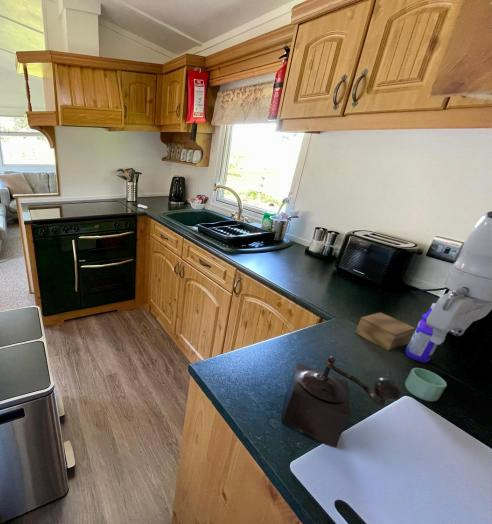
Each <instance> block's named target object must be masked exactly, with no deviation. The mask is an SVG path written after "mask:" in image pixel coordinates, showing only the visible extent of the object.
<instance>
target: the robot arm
mask: <svg viewBox="0 0 492 524" xmlns="http://www.w3.org/2000/svg"><path fill="white" fill-rule="evenodd" d="M443 285H444V287H445V288H447V290H448V292H447V293H444V294H443V295H441V296H440V297H439V298H438V299H437V301H436V302H435V303H436V304H435V306H434V307H433V309H432V311H431V313H430V314H429V316H428V318H427V320H426V324H427V325H428V326H430V327H432V328H433V335H432V337H431V339H430V341H431V342H433V343H435V344H438V345H442V344H444V342H445V340H446V339H447V337H446V336H447V334H448V333H450V334H451V335H454V336H455V337H460V336H462V335H464V334H465V331H466V330H467V329H468V328H469V327H470V326H471V325H472V324H473V323H474V322H477V321H479V320H481V319H483V318H485V317H486V316H488V314H489V313H490V312H491V311H492V210H491V211H488V212H485V213H484V215H482V216H481V217H480V219H479V220H478V221H477V222H476V223H475V225H474V226H473V228H472V229H471V231H470V232H469V234H468V236H467V237H466V240H465V241H464V243H463V245H462V248H461V254H460V257H459V258H458V260H456V262H454V263H453V265H452V267H451V269H450V271H449V274H447V277H446V278H445V281H444V283H443ZM438 345H437V346H438Z"/></svg>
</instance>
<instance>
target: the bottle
mask: <svg viewBox="0 0 492 524" xmlns="http://www.w3.org/2000/svg"><path fill="white" fill-rule="evenodd" d="M436 303H437V302H433V303H432V304H431V306H430V308H429V310H427V312H425V313H423V314H422V315H421V317H422V318H421V319H420V320H419V321H418V323H417V325H416V326H417V327H415V328H416V329H414V331H413V333H412V335H411V337H410V339H409V341H408V343H407V344H406V347H405V349H404V350H405V354H406V357H408V358H409V359H411V360H415V361H417V362H420V363H424V364H425V363H428V362H429V361H430V360H431V359H432V356H433V354H434V352H435V350H436V349H437V348H438V344H435V343H433V342H431V341H430V339H431V337H432V335H433V328H432V327H430V326H428V325H427V324H426V320H427V318H428V316H429V314H430V313H431V311H432V309H433V307H434V306H435V304H436Z"/></svg>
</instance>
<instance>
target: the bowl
mask: <svg viewBox="0 0 492 524" xmlns="http://www.w3.org/2000/svg"><path fill="white" fill-rule="evenodd" d="M447 386H448V385H447V382H446V381H445V379H444V378H442V377H441V376H440V375H438V374H437V373H435V372H432V371H431V370H428V369H425V368H421V367H414V368H412V369H410V371H409V374H408V376H407V378H406V379H405V381H404V387H405V389H406V390H407V391H408V392H409V393H410V394H411V395H413V396H414V397H416V398H418V399H420V400H422V401H426V402H437V401H438V400H439V399H440V398H441V396H442V394H443V393H444V391H445V389H446V388H447Z"/></svg>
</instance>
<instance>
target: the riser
mask: <svg viewBox="0 0 492 524" xmlns="http://www.w3.org/2000/svg"><path fill="white" fill-rule="evenodd" d="M415 328H416V327H414V326H412V325H409V324H407V323H405V322H403V321H401V320H398V319H397V318H394V317H392V316H390V315H388V314H385V313H383V312H381V311H380V312H375V313H372V314H369V315H364V316H362V317H360V320H359V322H358V325H357V327H356V329H355V333H354V334H357V335H359V336H361V337H362V338H363V339H366V340H368V341H369V342H371V343H373V344H374V345H377V346H379V347H381V348H382V349H384V350H385V351H387V352H388V351H393V350H394V349H397V348H400V347H402V346H405V345H408V344H409V342H410V340H411V338H412V336H413V334H414V332H415V330H416V329H415Z"/></svg>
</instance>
